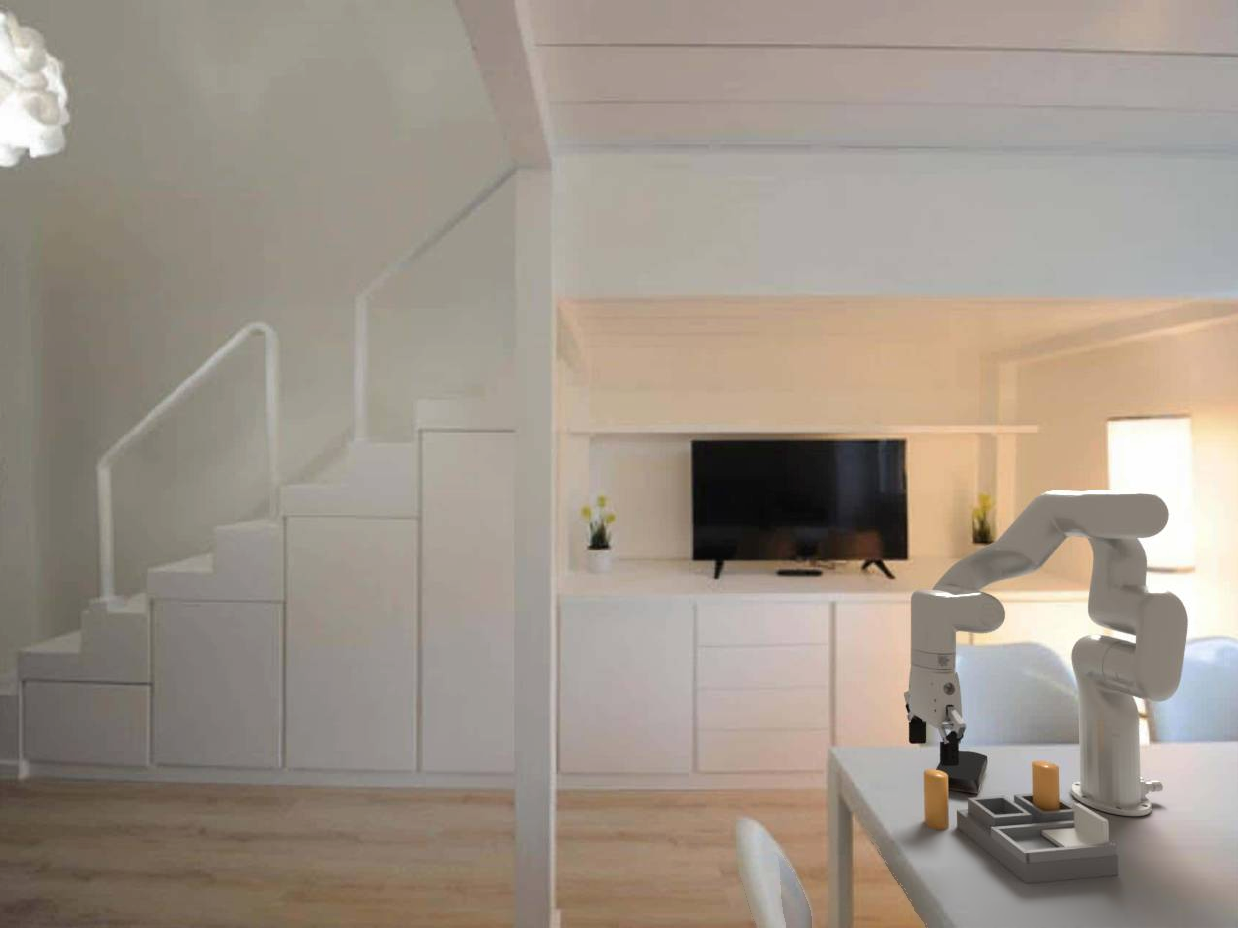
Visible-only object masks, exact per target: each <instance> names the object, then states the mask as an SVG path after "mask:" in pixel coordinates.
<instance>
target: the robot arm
mask: <svg viewBox="0 0 1238 928" xmlns="http://www.w3.org/2000/svg"><path fill="white" fill-rule="evenodd" d="M1169 514H1170V513H1169V508H1168V506H1167V503H1165V501H1164V500H1163V499H1162V498H1161V497H1159V496H1158V495H1157V494H1155V493H1153V492H1150V491H1141V490H1140V491H1139V490H1138V491H1136V490H1110V489H1109V490H1106V489H1105V490H1104V489H1102V490H1101V489H1099V490H1097V489H1094V490H1084V491H1083V490H1081V491H1080V490H1050V491H1049V490H1048V491H1045V492H1041V493H1039V494H1038V495H1037V496H1036V497H1034V498H1033V500H1032V501H1031V502H1030V503H1029V504H1028V505H1027V507H1025V509H1024V510H1023V511H1022V512H1021V513H1020V514H1019V515H1018V516H1017V517H1016V518H1015V520H1014V521H1013V522H1012V523H1011V524H1010V525H1009V526H1008V527H1007V529H1006V530H1005V531H1004V532H1003V533H1002V534H1001V536H999V538H998V539H996V540H995V541H994V542H992V543H990V544H987V545H986V546H985V545H984V546H983V547H981V548H980V549H978V550H976V551H973V552H972V553H971V554H968V555H967V556H965V557H964V558H962V559H960V560H958V561H957V562H956V563H954V564H953V565H952V566H950V568H949V569H948V570H947V571H946V572H944V574H943V575H942V576H941V578H939V580H937V582H936V584H935V585H934V586H933V588H932V589H918V590H915V591H914V592H912V594H911V596H910V669H909V678H908V679H909V681H908V691H905V692H903V697H904V701H905V709H906V712H907V715H906V716H907V721H908V742H909V744H911V745H917V744H919V745H923V744H926V743H927V724H929V725H930V726H932V727H934V728H936V729H938V732H939V734H940V737H941V741H940V742H939V763H940V764H941V765H942V766H956V765H958V764H959V751H960V748H959V747H960V745H959V744H961V743H962V739H964V737H965V736H964V735H965V731H966V730H967V723H966V722H965V721H964V719H963V707H962V706H963V701H962V692H961V685H960V679H959V674H958V671H957V667H956V666H957V632H962V633H963V632H965V633H970V634H971V633H973V634H979V635H980V634H981V635H982V634H988V633H993V632H995V631H996V630H998V629H1000V627H1001V626H1002V625H1003V624H1004V622H1005V618H1006V611H1005V607H1004V606H1003V603H1001V601H1000V600H999V599H998V598H997V597H995V596H993V594H991V593H988V592H984V591H981V590H982V589H984V588H985V587H987V586H989V585H991V584H994V583H996V582H1000V581H1005V580H1009V579H1014V578H1019V577H1023V576H1027V575H1030V574H1034V573H1036V572H1037V571H1039V570H1040V569H1041V568H1042V567H1043V566H1044V564H1046V562H1047V561H1048V560H1049V559H1050V557H1051V556H1053V554H1054V553H1055V552H1056V550H1057V549H1058V548H1059V547H1060V546H1061V545H1062V544H1063V543H1064V542H1065V541H1066V539H1068V538H1069V537H1074V538H1075V537H1076V538H1085V539H1087V541H1088V542H1089V544H1090V546H1091V550H1092V554H1093V556H1092V557H1093V560H1092V571H1091V579H1090V586H1089V591H1088V592H1089V593H1088V600H1087V601H1088V602H1087V613H1088V616H1089V618H1090V620H1091V621H1092V622H1093V623H1095V624H1096V625H1097V626H1099V627H1102V628H1105V629H1108V630H1112V631H1114V632H1118V633H1119V632H1120V633H1123V634H1127V635H1132V636H1135V642H1132V641H1129V640H1124V639H1121V638H1117V637H1114V636H1113V637H1112V636H1110V635H1109V636H1108V635H1104V634H1103V635H1102V634H1090V635H1089V634H1088V635H1085V636H1082V637H1081V638H1078V640H1077V641H1076V642H1075V643H1074V645H1073V647H1072V649H1071V655H1070V657H1071V658H1070V659H1071V665H1072V666H1071V667H1072V671H1073V674H1074V678H1075V681H1076V688H1077V695H1078V696H1077V697H1078V698H1077V699H1078V732H1079V733H1078V737H1079V742H1078V743H1079V744H1078V745H1079V780H1078V781H1075V782H1074V783H1072V784H1071V786H1070V792H1071V796H1073V797H1074V798H1075V799H1076V800H1077V801H1079V803H1082V805H1085V806H1086V807H1090V808H1092V809H1095V810H1097V811H1101V812H1105V813H1106V814H1107V813H1109V814H1112V815H1118V816H1125V817H1141V816H1142V817H1143V816H1146V815H1149V814H1150V813H1151V812H1152V810H1153V809H1152V806H1153V805H1152V802H1151V801H1150V800H1149V798H1148V797H1146V795H1148V794H1149V793H1150V792H1151V793H1152V792H1153V793H1154V792H1162V791H1163V789H1164V788H1163V787H1164V786H1163V784H1162V783H1161V781H1159V780H1158V779H1157V780H1147V781H1145V780H1144V778H1143V777H1142V776H1141V747H1140V746H1141V745H1140V743H1141V741H1140V738H1141V737H1140V736H1141V735H1140V725H1141V724H1140V712H1139V709H1138V705H1137V703H1136V699H1135V698H1134V697H1136V698H1139V699H1142V700H1145V701H1149V702H1154V703H1155V702H1156V703H1160V702H1165V701H1168V700H1169V699H1171V698H1172V697H1173V696H1174V695H1175V694H1176V692H1177V690H1178V689H1179V686H1180V684H1181V680H1182V673H1183V665H1184V659H1185V658H1184V657H1185V651H1186V644H1187V636H1188V635H1187V634H1188V625H1189V623H1188V621H1189V619H1188V618H1189V617H1188V613H1187V610H1186V607H1185V604H1184V603H1183V601H1182V600H1181V599H1180V598H1179V597H1178V596H1177V595H1176V594H1175V593H1173V592H1171V591H1170V590H1167V589H1164V588H1160V587H1159V588H1158V587H1153V586H1148V585H1147V573H1148V572H1147V571H1148V560H1147V559H1148V556H1147V552H1146V550H1145V548H1144V546H1143V544H1142V543H1141V541H1140V540H1139V539H1148V538H1151V537H1154V536H1156V535H1158V534H1159V533H1161V532H1162V531H1163V530H1164V529H1165V528H1166V526H1167V524H1168V522H1169V516H1170V515H1169ZM947 730H950V732H949V733H947Z"/></svg>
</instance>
